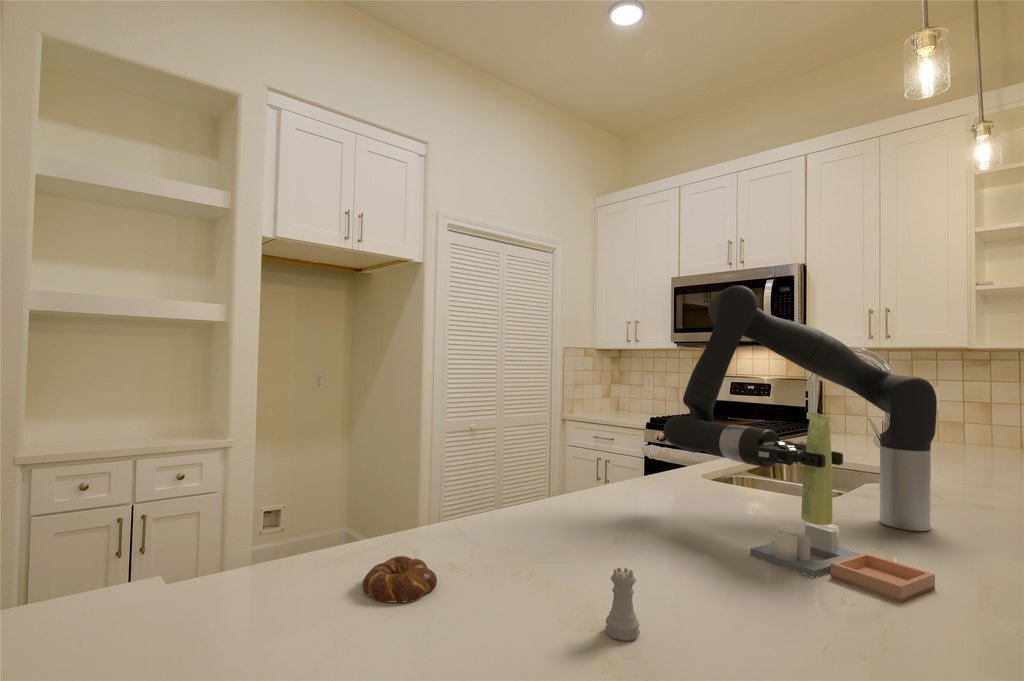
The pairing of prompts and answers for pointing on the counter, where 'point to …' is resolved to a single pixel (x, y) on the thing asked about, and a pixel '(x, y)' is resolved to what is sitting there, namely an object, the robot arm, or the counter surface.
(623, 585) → the rook chess piece
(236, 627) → the counter surface
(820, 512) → the tube
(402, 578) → the brown pretzel bun
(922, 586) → the tray
